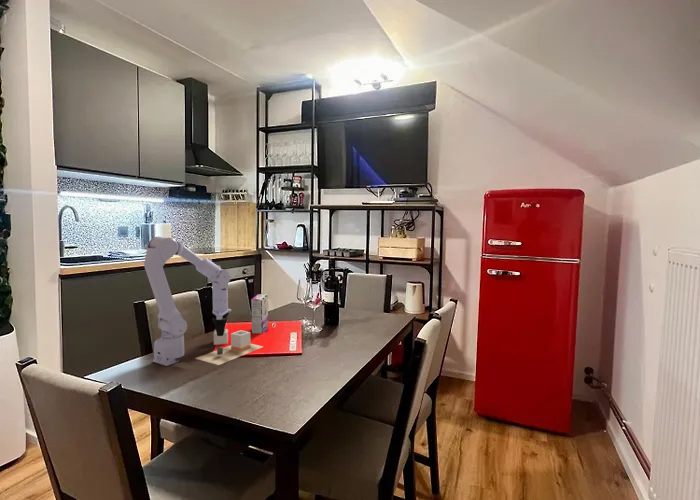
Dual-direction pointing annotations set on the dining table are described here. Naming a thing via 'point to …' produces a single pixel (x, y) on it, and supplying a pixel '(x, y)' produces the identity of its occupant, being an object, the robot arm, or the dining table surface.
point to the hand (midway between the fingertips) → (221, 332)
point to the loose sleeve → (221, 338)
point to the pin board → (226, 354)
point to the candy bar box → (259, 313)
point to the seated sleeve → (240, 340)
